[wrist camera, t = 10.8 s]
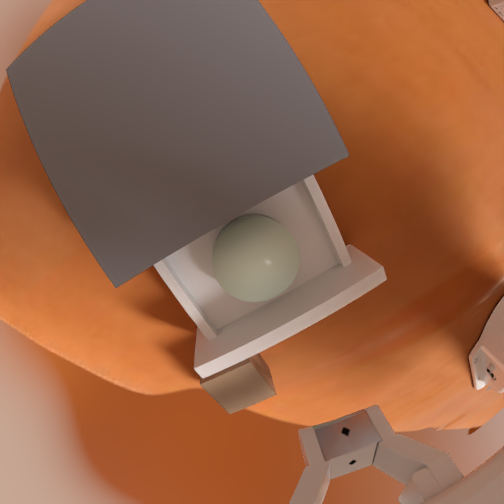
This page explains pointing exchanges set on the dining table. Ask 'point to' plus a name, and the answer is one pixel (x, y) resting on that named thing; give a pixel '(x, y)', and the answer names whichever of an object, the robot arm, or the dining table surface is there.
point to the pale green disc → (255, 258)
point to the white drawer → (282, 306)
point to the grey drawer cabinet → (168, 121)
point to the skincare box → (497, 7)
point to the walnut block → (240, 384)
